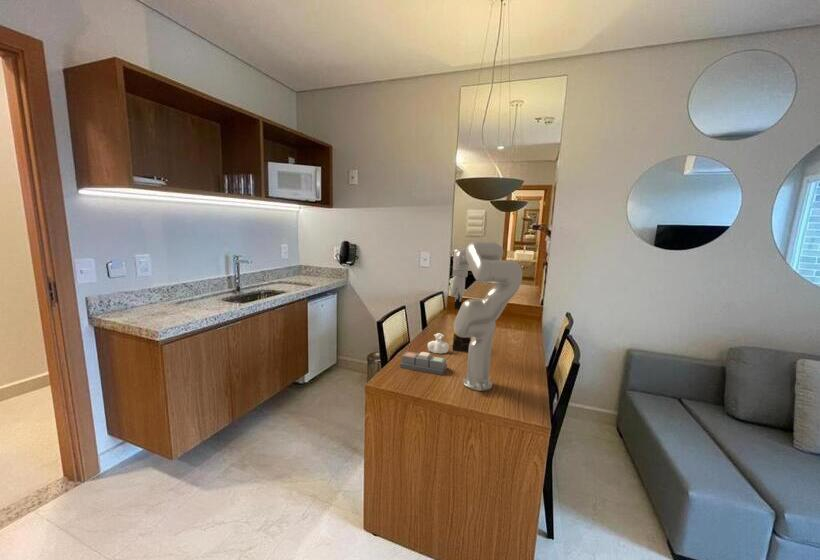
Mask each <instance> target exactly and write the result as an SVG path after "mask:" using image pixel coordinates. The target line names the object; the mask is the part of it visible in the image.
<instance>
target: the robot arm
mask: <svg viewBox="0 0 820 560" xmlns="http://www.w3.org/2000/svg"><path fill="white" fill-rule="evenodd" d="M503 256H504V249H503V247H502V246H501V244H499V243H497V242H494V241H493V242H492V241H472V242H469V244H468V245H467V247H466V248H455V249H454V250H453V260H452V262H453V263H452V273H451V275H452V277H453V279H452V288H451V296H452V297H454V309H455V310H458V312H457V314H456V316H455V319H454V322H453V330H454V331H453V333H454V332H455V334H456V335H457V336H459V337H471V341H470V344H469V351H468V352H467V353H468V354H467V369H466V376H465V377H463V379H462V384H463V385H464V387H466V388H468V389H470V390H474V391H477V392H478V391H479V392H480V391H481V392H483V391H489V390H491V388H492V387H493V382H492V381H491V380H490V369H491V368H490V367H491V357H492V356H491V355H492V346H493V344H492V343H493V338H494V334H495V331H496V321H497V320H498V319H499V317H500V316H501V314H502V313H503V311H504V310H505V308H506V306H507V305H508V303H509V302H510V301H511V299H512V298H513V297H514V296H515V295H516V294H517V292H518V291H519V289H520V287H521V284H522V281H523V269H522V266H521V265H520V264H519V263H517V262H515V261H513V260H507V259H506V260H505V259H502V258H503ZM469 268H470V270H471V273H472V275H473V277H474V279H475V281H476V282H479V283H482V284H483V283H484V284H488V283H489V284H491V283H492V284H495V285H493V286H492V287H491V288H490V289H489V290H488V291H487V293H486V295H485V296H484V298H483V297H482V298H470V299H469V298H468V299H467V300H465V301H463V295H464V294H465V289H466V278H467V277H468V274H469V273H468V272H469V271H468V270H469Z"/></svg>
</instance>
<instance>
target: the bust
mask: <svg viewBox="0 0 820 560" xmlns="http://www.w3.org/2000/svg"><path fill="white" fill-rule="evenodd" d="M433 336H434V337H435V340H431V341H429V342H428V343H427V349H428V350H427V351H429V353H430V352H431V353H433V354H441V355H442V354H446V353H448V351H449V349H450V345H449V343H447V342H446V341H443V338H444V337H445V335H444V334H443V333H440V332H437V333H436V334H435V333H434V334H433Z"/></svg>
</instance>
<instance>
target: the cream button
mask: <svg viewBox="0 0 820 560" xmlns="http://www.w3.org/2000/svg"><path fill="white" fill-rule="evenodd" d="M430 355H431V353H430V352H425V351H420V353H419V355H418V358H421V359H427V360H428V358H429V357H430Z"/></svg>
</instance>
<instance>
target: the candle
mask: <svg viewBox="0 0 820 560" xmlns="http://www.w3.org/2000/svg"><path fill="white" fill-rule="evenodd" d="M452 335H453V336H452V337H453V339H452V345H451V347H452V351H454V352H461V353H462V352H465V353H468V351H469V344H470V341H471V340H472V337H459V336H457V335H456V334H455V332H454V331H453V334H452Z"/></svg>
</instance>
